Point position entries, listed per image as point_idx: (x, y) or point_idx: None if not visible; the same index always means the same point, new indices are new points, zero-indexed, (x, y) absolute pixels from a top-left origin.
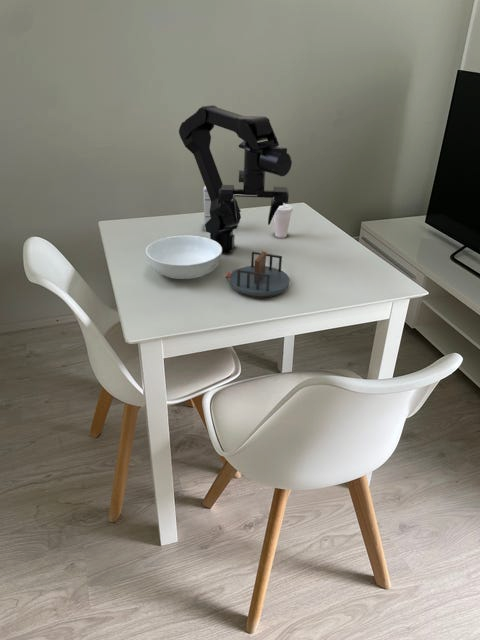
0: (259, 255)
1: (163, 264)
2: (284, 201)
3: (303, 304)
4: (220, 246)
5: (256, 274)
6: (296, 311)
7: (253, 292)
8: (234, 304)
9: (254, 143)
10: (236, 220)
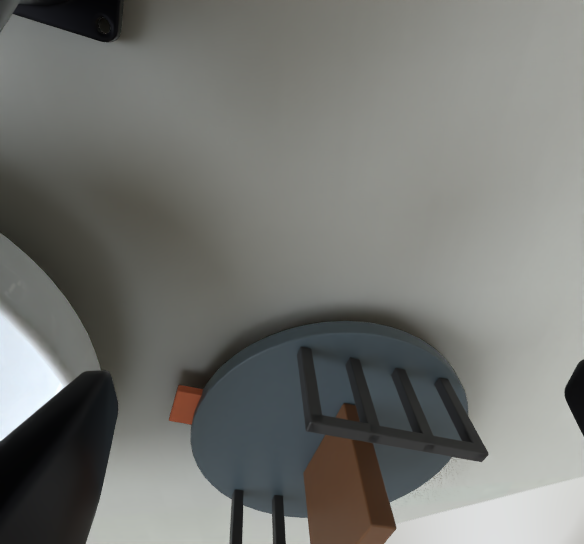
0: None
1: None
2: None
3: (459, 488)
4: (57, 377)
5: None
6: (424, 516)
7: (297, 515)
8: (230, 508)
9: None
10: (103, 475)
